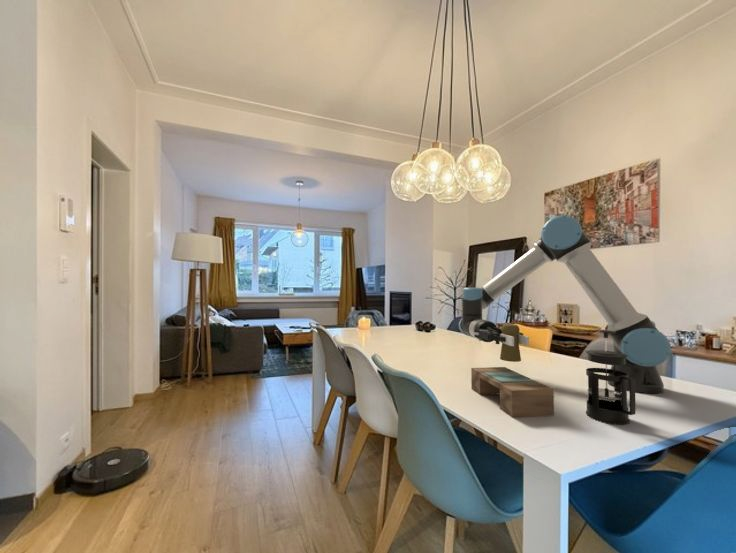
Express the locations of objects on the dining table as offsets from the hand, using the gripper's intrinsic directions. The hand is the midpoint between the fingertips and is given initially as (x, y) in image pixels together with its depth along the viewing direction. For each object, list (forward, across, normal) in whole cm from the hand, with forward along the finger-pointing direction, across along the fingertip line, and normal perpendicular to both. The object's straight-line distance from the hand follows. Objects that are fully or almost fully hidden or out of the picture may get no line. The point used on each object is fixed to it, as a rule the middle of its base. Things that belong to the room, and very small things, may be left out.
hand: (520, 341), depth 96 cm
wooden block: (-3, +2, -18) cm, 19 cm away
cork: (-5, 0, -7) cm, 9 cm away
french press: (+12, -18, -18) cm, 28 cm away
